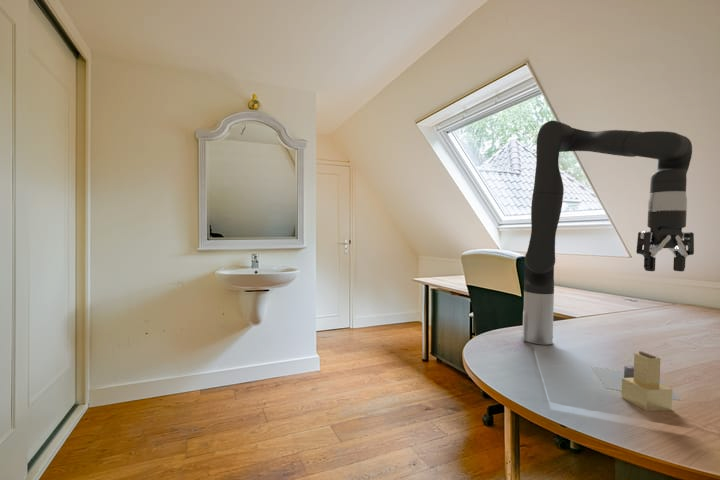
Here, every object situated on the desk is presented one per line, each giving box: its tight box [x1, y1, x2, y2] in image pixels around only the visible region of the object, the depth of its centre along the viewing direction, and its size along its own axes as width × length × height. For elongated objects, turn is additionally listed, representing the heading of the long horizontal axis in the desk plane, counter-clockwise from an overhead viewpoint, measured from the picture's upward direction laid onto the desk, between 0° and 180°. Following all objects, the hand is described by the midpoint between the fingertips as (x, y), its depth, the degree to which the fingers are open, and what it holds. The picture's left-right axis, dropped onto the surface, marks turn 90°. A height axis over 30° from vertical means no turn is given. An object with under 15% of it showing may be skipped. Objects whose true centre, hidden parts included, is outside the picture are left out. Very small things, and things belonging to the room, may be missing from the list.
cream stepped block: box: [620, 350, 673, 412], centre depth 72 cm, size 6×6×11 cm
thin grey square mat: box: [591, 364, 683, 402], centre depth 83 cm, size 14×14×4 cm
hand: (664, 271), depth 89 cm, fingers open, 8 cm apart
